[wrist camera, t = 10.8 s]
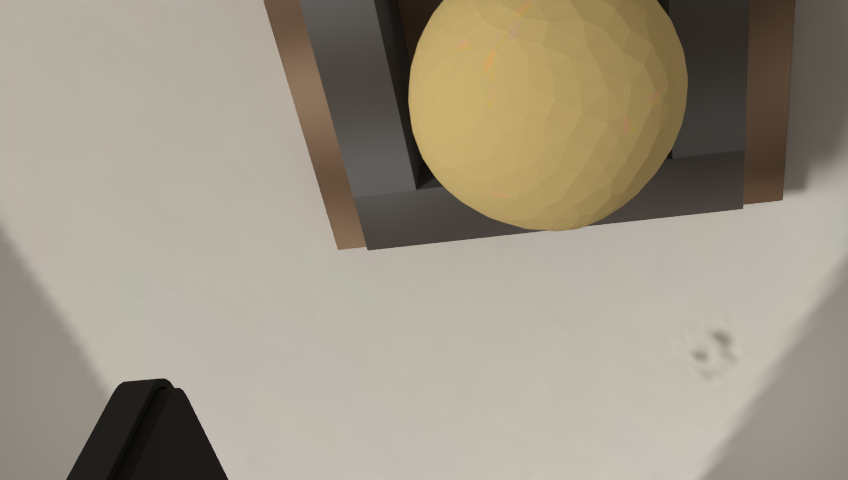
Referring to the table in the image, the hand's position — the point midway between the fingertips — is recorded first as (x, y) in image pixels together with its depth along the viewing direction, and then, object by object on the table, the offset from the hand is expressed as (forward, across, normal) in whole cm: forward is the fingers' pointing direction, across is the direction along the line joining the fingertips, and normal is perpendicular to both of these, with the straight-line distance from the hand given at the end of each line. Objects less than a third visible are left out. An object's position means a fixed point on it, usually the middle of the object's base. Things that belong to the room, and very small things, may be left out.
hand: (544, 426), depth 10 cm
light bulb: (+18, 0, 0) cm, 18 cm away
